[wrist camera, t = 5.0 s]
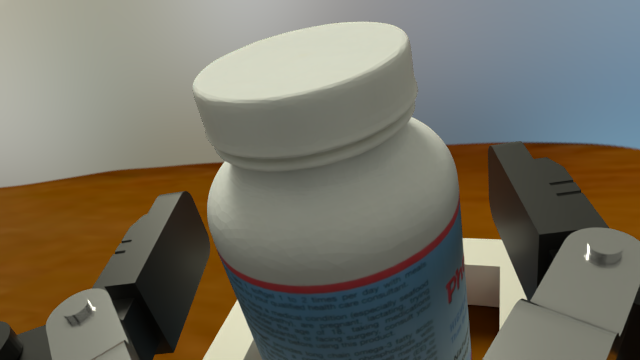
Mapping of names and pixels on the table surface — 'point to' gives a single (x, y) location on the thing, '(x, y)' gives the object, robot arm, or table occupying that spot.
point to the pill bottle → (335, 198)
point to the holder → (481, 284)
